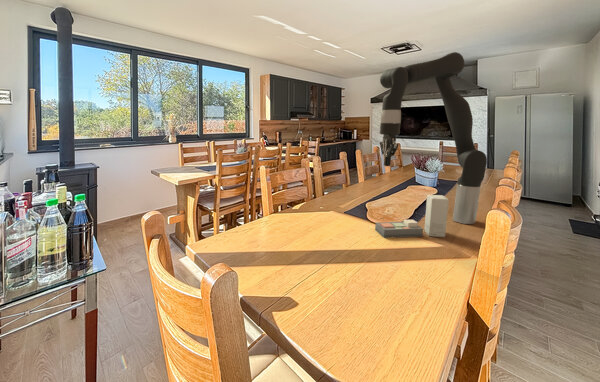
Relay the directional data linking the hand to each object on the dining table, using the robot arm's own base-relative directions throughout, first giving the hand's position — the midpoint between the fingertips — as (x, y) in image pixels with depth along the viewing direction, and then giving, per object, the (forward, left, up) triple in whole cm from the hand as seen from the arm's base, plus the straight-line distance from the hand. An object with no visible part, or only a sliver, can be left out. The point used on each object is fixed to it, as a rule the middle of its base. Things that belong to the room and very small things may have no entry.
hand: (387, 165), depth 117 cm
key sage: (-2, +7, -25) cm, 26 cm away
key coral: (+3, +5, -25) cm, 26 cm away
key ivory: (-7, +9, -24) cm, 26 cm away
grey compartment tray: (-2, +7, -27) cm, 28 cm away
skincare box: (-15, +14, -27) cm, 34 cm away
